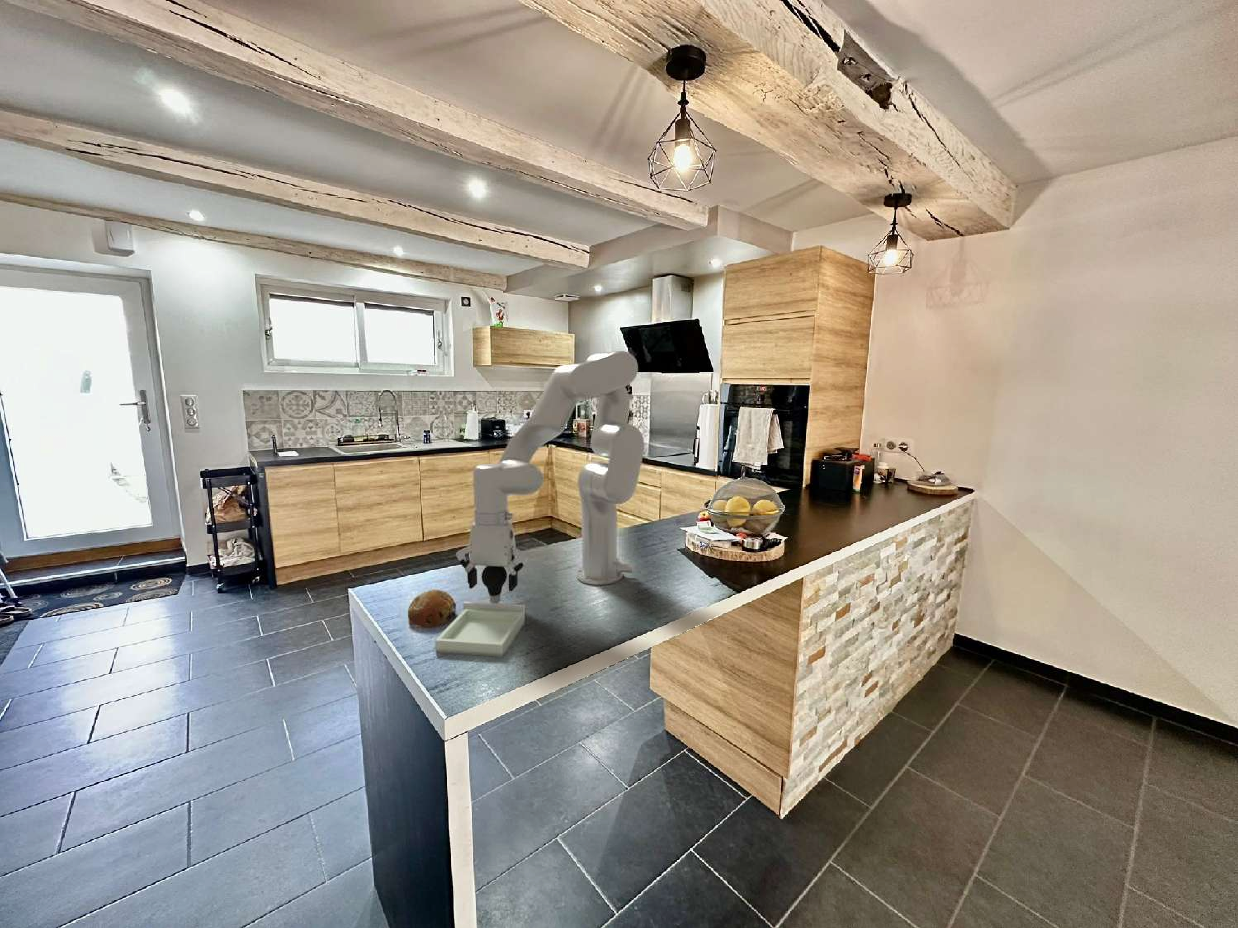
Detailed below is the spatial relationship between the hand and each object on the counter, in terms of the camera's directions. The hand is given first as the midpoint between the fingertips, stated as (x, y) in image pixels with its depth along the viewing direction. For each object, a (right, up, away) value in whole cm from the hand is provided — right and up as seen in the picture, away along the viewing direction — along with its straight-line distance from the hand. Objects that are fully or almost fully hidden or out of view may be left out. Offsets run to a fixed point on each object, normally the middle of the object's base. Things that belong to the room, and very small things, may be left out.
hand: (492, 587), depth 115 cm
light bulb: (0, -4, +1) cm, 5 cm away
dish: (+2, -7, -14) cm, 16 cm away
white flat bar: (+2, -5, -5) cm, 7 cm away
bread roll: (-12, -6, -6) cm, 14 cm away
